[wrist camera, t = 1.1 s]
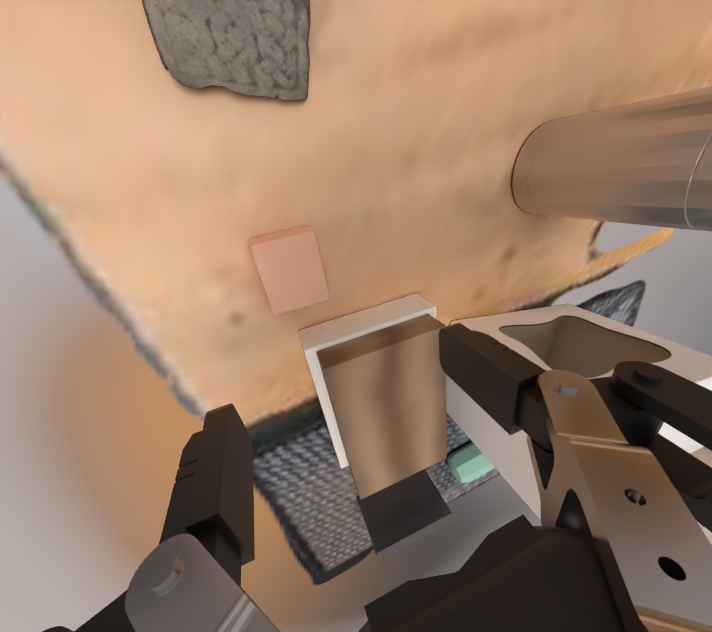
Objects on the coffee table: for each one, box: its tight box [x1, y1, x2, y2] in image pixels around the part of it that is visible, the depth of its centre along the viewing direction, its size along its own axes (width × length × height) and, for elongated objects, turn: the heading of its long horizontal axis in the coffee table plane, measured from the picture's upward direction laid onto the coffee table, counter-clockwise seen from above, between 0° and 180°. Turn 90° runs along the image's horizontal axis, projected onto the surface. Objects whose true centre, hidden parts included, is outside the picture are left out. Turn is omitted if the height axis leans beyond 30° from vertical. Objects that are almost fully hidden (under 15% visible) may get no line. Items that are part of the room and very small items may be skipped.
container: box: [447, 442, 495, 483], centre depth 49 cm, size 6×6×25 cm
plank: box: [316, 313, 447, 500], centre depth 30 cm, size 12×20×3 cm, turn 10°
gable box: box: [446, 304, 712, 545], centre depth 30 cm, size 22×13×28 cm, turn 89°
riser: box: [298, 293, 436, 468], centre depth 33 cm, size 14×18×4 cm
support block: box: [250, 225, 330, 316], centre depth 24 cm, size 5×6×4 cm
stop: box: [357, 469, 452, 561], centre depth 42 cm, size 12×2×8 cm, turn 100°
